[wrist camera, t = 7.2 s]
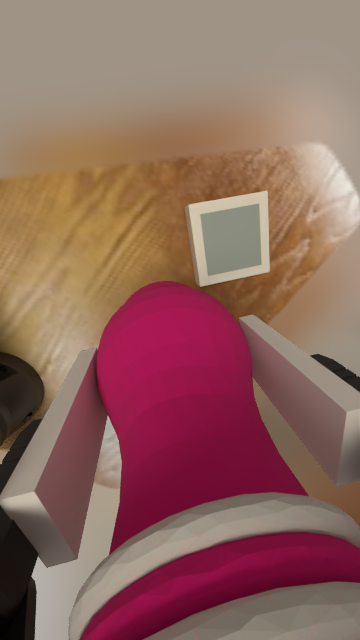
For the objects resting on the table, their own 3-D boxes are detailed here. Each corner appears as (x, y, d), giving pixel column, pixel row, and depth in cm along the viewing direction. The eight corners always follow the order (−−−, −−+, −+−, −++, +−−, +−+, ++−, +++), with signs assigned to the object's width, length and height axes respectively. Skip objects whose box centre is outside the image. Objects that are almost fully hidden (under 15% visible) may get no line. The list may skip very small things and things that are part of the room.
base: (195, 283, 39) (200, 287, 36) (184, 207, 35) (188, 204, 32) (260, 269, 40) (270, 272, 37) (257, 194, 36) (268, 190, 33)
